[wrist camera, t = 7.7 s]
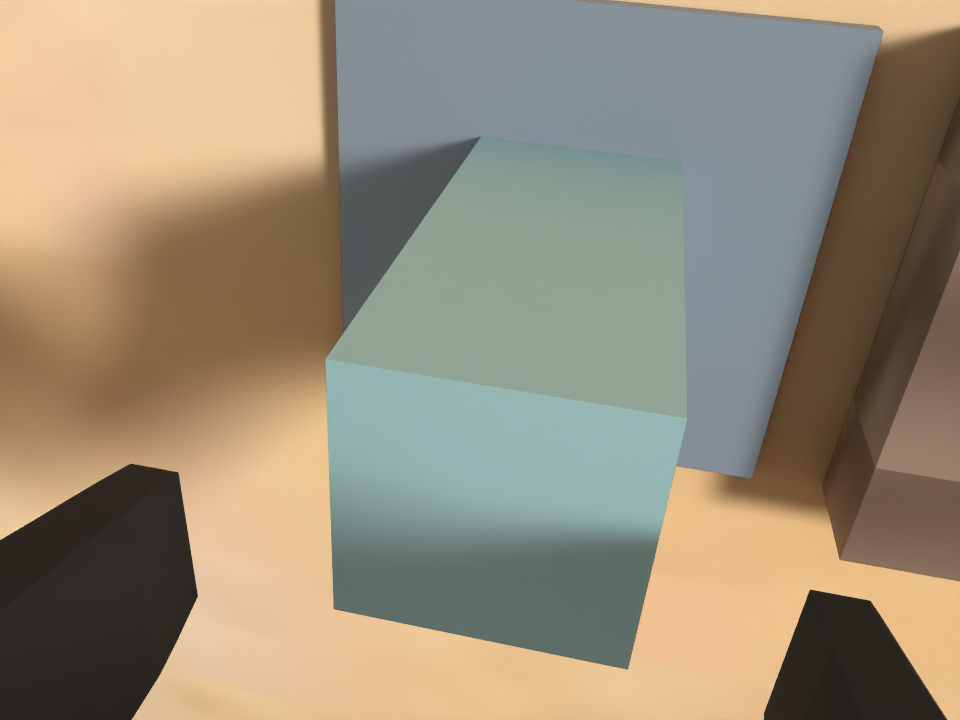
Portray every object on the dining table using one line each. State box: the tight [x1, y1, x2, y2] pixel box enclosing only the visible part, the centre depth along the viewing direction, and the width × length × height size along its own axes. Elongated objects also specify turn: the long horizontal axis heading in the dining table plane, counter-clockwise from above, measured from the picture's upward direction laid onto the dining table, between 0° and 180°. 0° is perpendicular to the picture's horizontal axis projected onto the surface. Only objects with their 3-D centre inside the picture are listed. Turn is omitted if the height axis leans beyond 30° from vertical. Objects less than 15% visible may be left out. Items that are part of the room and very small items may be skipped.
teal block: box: [325, 136, 687, 669], centre depth 14 cm, size 4×4×9 cm
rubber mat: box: [335, 0, 883, 479], centre depth 18 cm, size 10×10×1 cm
